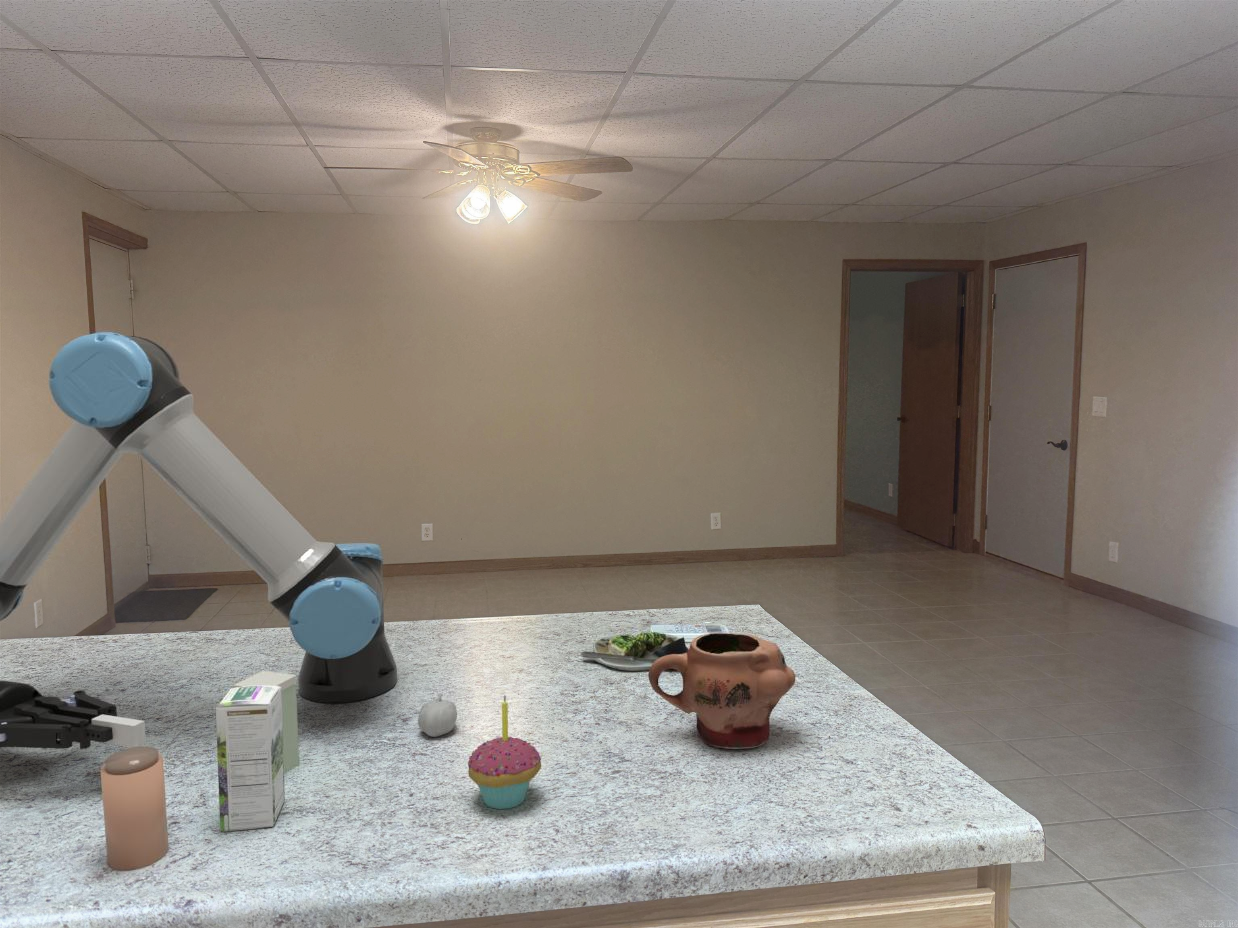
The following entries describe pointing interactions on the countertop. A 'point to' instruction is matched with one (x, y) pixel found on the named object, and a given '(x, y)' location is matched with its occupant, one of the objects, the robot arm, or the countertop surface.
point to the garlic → (437, 717)
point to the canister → (134, 808)
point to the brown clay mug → (728, 686)
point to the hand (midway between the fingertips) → (139, 734)
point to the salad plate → (635, 650)
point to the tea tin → (288, 711)
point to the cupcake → (504, 767)
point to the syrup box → (250, 757)
